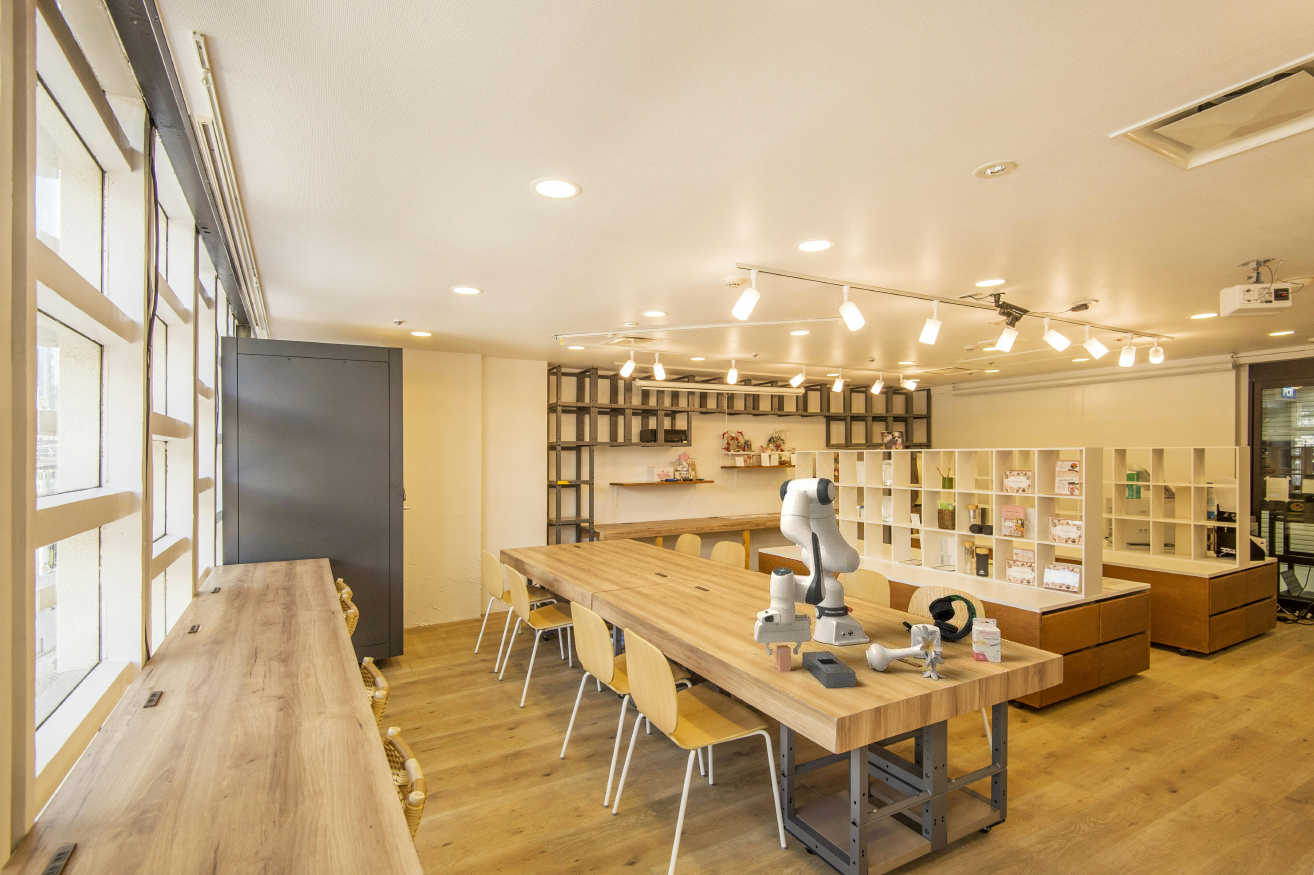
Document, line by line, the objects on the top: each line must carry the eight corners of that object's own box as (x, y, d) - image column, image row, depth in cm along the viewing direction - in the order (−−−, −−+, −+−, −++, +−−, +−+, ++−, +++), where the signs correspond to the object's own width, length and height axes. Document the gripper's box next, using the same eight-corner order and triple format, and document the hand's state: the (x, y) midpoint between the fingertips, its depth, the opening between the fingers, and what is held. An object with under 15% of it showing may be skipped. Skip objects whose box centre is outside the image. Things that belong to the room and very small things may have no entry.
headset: (925, 654, 262) (985, 636, 241) (902, 643, 258) (960, 624, 237) (921, 614, 273) (977, 594, 253) (898, 603, 269) (954, 582, 249)
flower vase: (876, 693, 213) (953, 683, 205) (861, 644, 212) (937, 631, 204) (875, 674, 225) (947, 664, 217) (860, 627, 224) (932, 615, 216)
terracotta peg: (787, 667, 220) (787, 644, 221) (790, 671, 216) (790, 648, 217) (776, 668, 220) (776, 645, 220) (779, 671, 216) (779, 648, 216)
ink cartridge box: (975, 661, 227) (974, 620, 227) (972, 656, 232) (971, 617, 232) (1001, 662, 225) (1000, 622, 225) (997, 658, 230) (996, 618, 230)
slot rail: (829, 664, 223) (828, 651, 223) (855, 686, 201) (855, 672, 202) (802, 665, 222) (802, 652, 222) (826, 688, 200) (826, 673, 200)
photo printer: (940, 657, 231) (939, 624, 232) (941, 660, 227) (941, 627, 228) (910, 654, 234) (910, 621, 235) (911, 658, 230) (911, 624, 231)
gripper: (807, 612, 223) (807, 650, 223) (752, 613, 221) (752, 652, 220) (814, 616, 217) (814, 656, 216) (757, 617, 214) (757, 658, 214)
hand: (782, 654), depth 218 cm, fingers open, 8 cm apart
